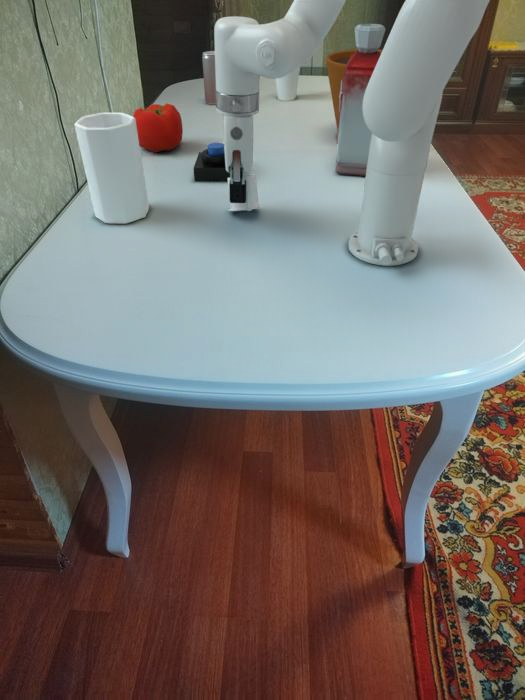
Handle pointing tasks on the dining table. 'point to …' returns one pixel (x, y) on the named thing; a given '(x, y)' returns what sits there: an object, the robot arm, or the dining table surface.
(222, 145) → the button
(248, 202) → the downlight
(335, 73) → the flower pot
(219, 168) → the base
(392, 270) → the dining table surface
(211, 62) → the beverage can
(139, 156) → the cup
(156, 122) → the tomato
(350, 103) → the bottle
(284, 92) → the foam cup
